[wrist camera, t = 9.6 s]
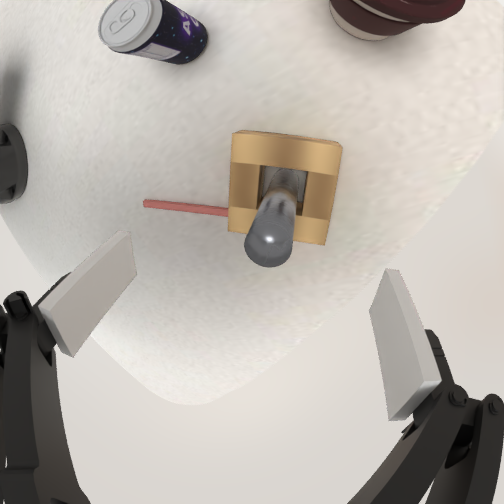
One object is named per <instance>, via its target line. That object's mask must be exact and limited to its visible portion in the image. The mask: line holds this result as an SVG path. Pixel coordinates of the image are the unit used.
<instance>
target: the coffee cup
mask: <svg viewBox="0 0 504 504" xmlns="http://www.w3.org/2000/svg"><path fill="white" fill-rule="evenodd" d="M464 3H465V0H330V11H331V14H332V16H333V18H334V19H335V21H336V22H337V23H338V25H339V26H340V27H341V28H342V29H344V30H345V31H346V32H348V33H349V34H351V35H353V36H355V37H358V38H361V39H365V40H382V39H385V38H387V37H389V36H392V35H397V34H400V33H402V32H404V31H407V30H409V29H411V28H413V27H416V26H418V25H420V24H422V23H426V24H427V23H436V22H440V21H443V20H445V19H447V18H449V17H451V16H453V15H455V14H457V13H458V12H459V11H460V10H461V9H462V7H463V5H464Z"/></svg>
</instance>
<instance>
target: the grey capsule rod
mask: <svg viewBox="0 0 504 504" xmlns="http://www.w3.org/2000/svg"><path fill="white" fill-rule="evenodd" d="M298 185H299V179H298V176H297V175H296V173H295V172H294V171H292V170H290V169H281V170H279V171H277V172H276V173H275V175H274V177H273V179H272V181H271V183H270V185H269V188H268V190H267V192H266V194H265V196H264V198H263V201H262V203H261V205H260V207H259V209H258V212H257V214H256V216H255V218H254V220H253V223H252V225H251V227H250V229H249V231H248V234H247V236H246V238H245V243H244V247H245V251H246V253H247V255H248V257H249V258H250V259H251V260H252V261H253V262H254V263H256V264H258V265H260V266H264V267H276V266H279V265H281V264H283V263H284V262H286V261H287V260H288V258H289V257H290V255H291V251H292V244H293V235H294V226H295V216H296V206H297V196H298Z"/></svg>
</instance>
